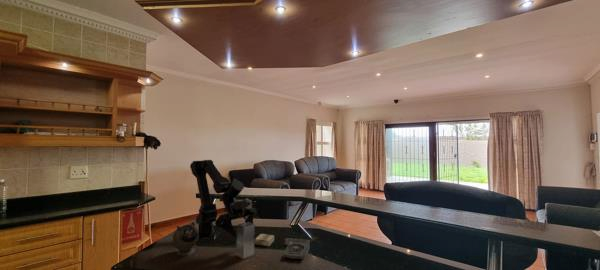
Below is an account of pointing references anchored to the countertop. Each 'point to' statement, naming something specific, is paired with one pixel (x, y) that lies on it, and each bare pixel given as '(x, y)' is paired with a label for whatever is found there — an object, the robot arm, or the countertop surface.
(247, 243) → the housing
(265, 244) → the stand
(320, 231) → the countertop surface
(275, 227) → the countertop surface
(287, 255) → the graphics card
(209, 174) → the robot arm
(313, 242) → the countertop surface
